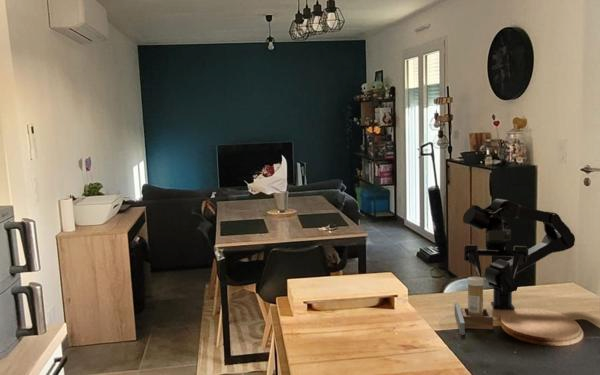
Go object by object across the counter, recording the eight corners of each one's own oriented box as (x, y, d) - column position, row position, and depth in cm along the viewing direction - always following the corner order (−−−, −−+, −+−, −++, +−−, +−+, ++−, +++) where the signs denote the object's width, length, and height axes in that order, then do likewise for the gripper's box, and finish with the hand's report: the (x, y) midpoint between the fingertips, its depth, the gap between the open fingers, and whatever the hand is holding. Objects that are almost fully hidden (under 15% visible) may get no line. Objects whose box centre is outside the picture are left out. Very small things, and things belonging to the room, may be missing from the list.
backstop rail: (454, 312, 176) (454, 301, 176) (458, 312, 176) (458, 302, 176) (460, 334, 157) (460, 322, 156) (464, 334, 156) (464, 323, 156)
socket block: (460, 318, 170) (460, 307, 170) (488, 319, 169) (489, 308, 168) (463, 328, 162) (463, 316, 162) (493, 329, 160) (493, 317, 160)
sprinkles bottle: (486, 322, 165) (486, 278, 164) (476, 325, 162) (476, 280, 161) (474, 318, 169) (474, 275, 167) (464, 321, 166) (464, 277, 165)
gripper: (464, 219, 173) (464, 261, 163) (528, 220, 167) (532, 264, 158) (464, 239, 181) (464, 280, 171) (524, 240, 176) (528, 283, 166)
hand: (496, 277), depth 166 cm, fingers open, 9 cm apart
